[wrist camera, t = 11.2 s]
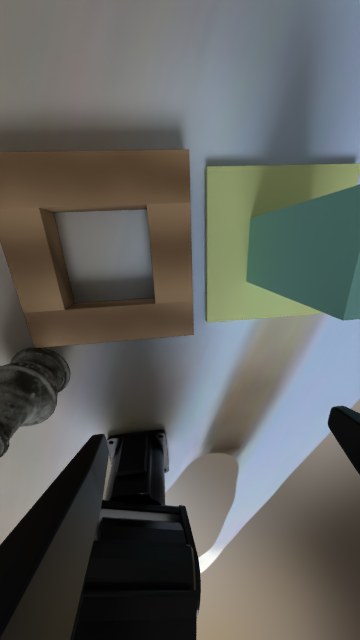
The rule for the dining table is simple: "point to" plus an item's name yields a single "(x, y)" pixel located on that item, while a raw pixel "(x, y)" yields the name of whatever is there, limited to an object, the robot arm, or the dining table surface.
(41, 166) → the frame
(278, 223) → the teal peg
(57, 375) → the dark grey upright piece
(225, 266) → the olive mat
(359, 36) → the dining table surface
